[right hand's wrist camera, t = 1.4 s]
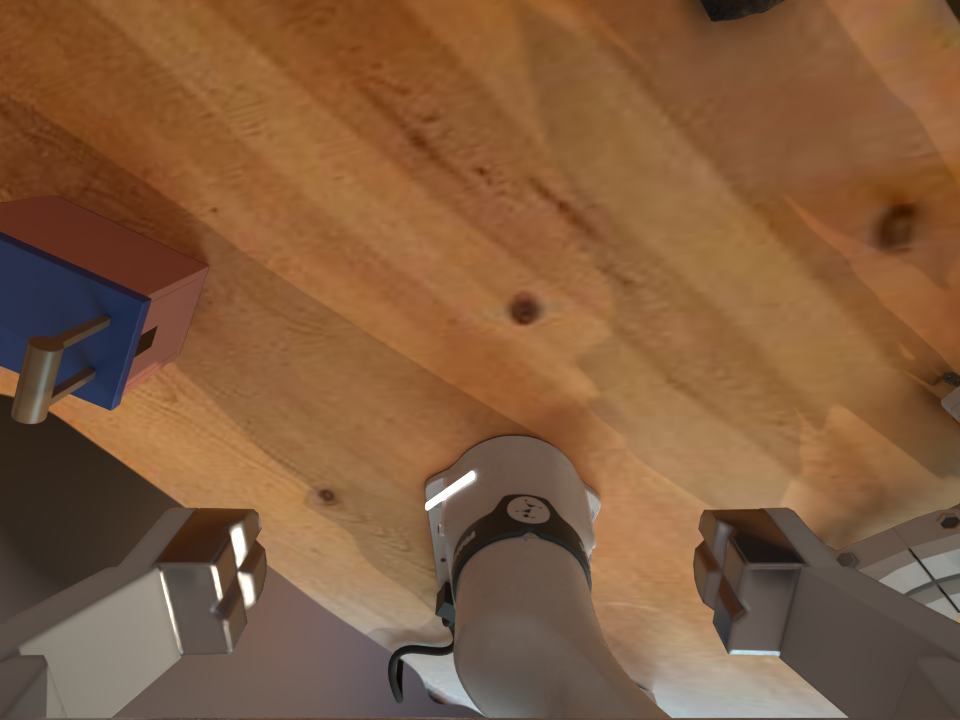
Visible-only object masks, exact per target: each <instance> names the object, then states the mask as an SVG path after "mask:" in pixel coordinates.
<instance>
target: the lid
mask: <svg viewBox="0 0 960 720" xmlns="http://www.w3.org/2000/svg"><path fill="white" fill-rule="evenodd" d="M151 301H152V299H151V298H149V297H147V296H145V295H142V294H140V293H138V292H136V291H133V290H131V289H129V288H127V287H124V286H122V285H120V284H118V283H115V282H113V281H111V280H109V279H106V278H104V277H102V276H100V275H97V274H95V273H93V272H91V271H88V270H86V269H84V268H81V267H79V266H77V265H75V264H72V263H70V262H68V261H66V260H63V259H61V258H59V257H57V256H54V255H52V254H50V253H48V252H45V251H43V250H41V249H39V248H36V247H34V246H32V245H29V244H27V243H25V242H23V241H20V240H18V239H16V238H14V237H11V236H9V235H7V234H5V233H2V232H0V366H2V367H4V368H7V369H9V370H12V371H14V372H17V373H19V374H20V376H19V380H18V385H17V389H16V393H15V398H14V402H13V406H12V411H11V416H12V418H13V419H14V420H16V421H18V422H21V423H26V424H35V423H39V422H42V421H43V420H45V418H46V416H47V412H48V409H49V406H51V405H52V404H54V403H55V402H57V401H59V400H60V399H62V398H63V397H65V396H67V395H68V394H71V395H73V396H76V397H78V398H81V399H83V400H86V401H88V402H91V403H93V404H96V405H98V406H101V407H103V408H106V409H108V410H113V409H114V408H116V407H117V406H118V405H120V402H121V399H122V395H123V392H124V389H125V385H126V382H127V379H128V376H129V372H130V369H131V366H132V363H133V359H134V356H135V353H136V350H137V346H138V343H139V340H140V337H141V333H142V330H143V327H144V323H145V320H146V317H147V314H148V310H149V307H150V304H151Z"/></svg>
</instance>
